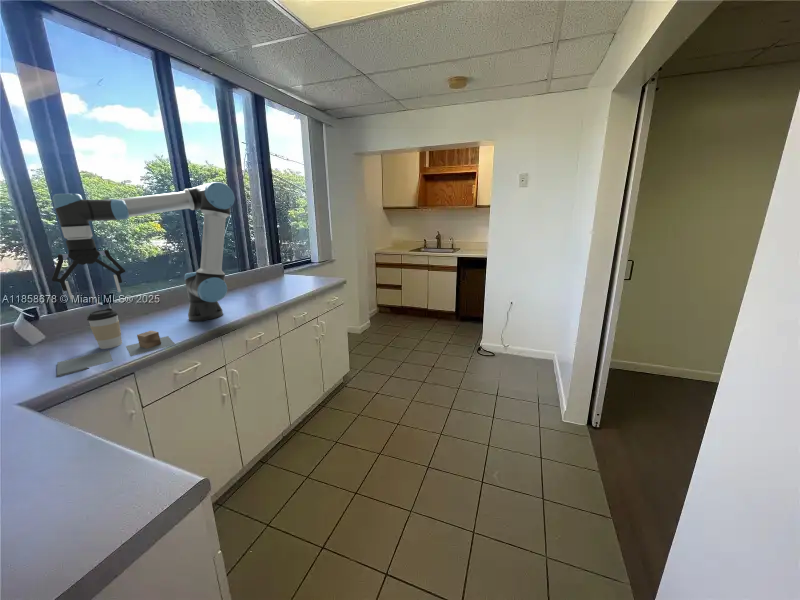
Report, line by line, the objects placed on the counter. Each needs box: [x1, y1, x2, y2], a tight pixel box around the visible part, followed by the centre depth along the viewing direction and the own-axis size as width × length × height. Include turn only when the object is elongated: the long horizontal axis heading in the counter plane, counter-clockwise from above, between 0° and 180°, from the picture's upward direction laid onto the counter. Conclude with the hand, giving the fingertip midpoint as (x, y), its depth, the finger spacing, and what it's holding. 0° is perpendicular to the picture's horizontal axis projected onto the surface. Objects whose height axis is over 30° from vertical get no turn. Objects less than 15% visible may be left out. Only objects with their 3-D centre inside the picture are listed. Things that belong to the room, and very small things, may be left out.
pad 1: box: [56, 349, 114, 377], centre depth 116 cm, size 14×14×1 cm
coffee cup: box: [87, 307, 123, 350], centre depth 128 cm, size 9×9×15 cm
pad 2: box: [125, 335, 176, 357], centre depth 128 cm, size 14×14×1 cm
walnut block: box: [136, 330, 161, 349], centre depth 128 cm, size 5×5×5 cm
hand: (96, 295), depth 124 cm, fingers open, 13 cm apart
